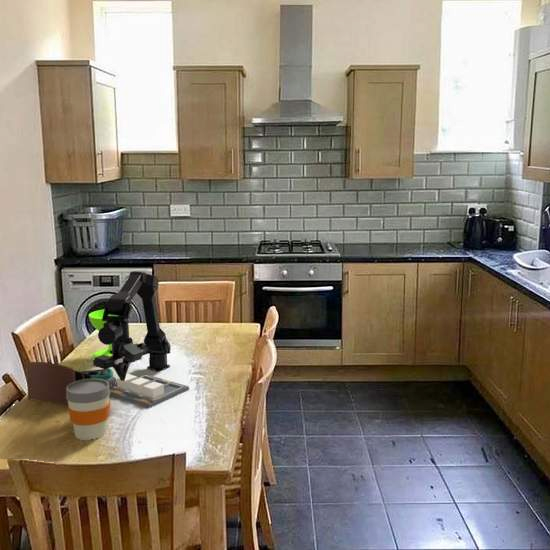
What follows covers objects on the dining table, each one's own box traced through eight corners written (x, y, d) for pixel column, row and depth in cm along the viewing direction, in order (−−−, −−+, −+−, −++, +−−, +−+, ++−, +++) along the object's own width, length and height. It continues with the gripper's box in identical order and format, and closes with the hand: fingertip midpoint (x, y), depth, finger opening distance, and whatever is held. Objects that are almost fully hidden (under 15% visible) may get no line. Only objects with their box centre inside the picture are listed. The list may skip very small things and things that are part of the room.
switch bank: (148, 378, 228) (148, 373, 227) (189, 389, 216) (188, 384, 216) (108, 394, 212) (108, 389, 212) (149, 407, 201) (149, 402, 201)
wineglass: (139, 355, 253) (137, 313, 249) (106, 365, 241) (104, 321, 237) (116, 347, 263) (114, 306, 260) (83, 356, 251) (80, 314, 248)
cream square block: (154, 392, 210) (154, 381, 210) (164, 395, 208) (163, 384, 207) (143, 397, 206) (143, 386, 206) (153, 400, 204) (152, 389, 203)
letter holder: (75, 408, 201) (72, 367, 199) (27, 399, 208) (24, 360, 205) (94, 397, 211) (92, 357, 208) (47, 389, 217) (44, 351, 215)
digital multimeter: (113, 381, 226) (112, 373, 225) (70, 385, 222) (70, 377, 221) (112, 374, 233) (112, 367, 232) (71, 378, 229) (71, 370, 228)
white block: (128, 384, 218) (127, 373, 217) (137, 387, 215) (137, 376, 214) (117, 388, 214) (117, 378, 213) (126, 391, 211) (126, 380, 210)
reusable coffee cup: (88, 446, 175) (85, 397, 172) (59, 436, 181) (56, 388, 178) (121, 430, 185) (118, 383, 182) (92, 420, 192) (89, 375, 189)
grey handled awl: (116, 384, 222) (109, 382, 223) (116, 377, 222) (109, 376, 222) (96, 398, 209) (89, 397, 209) (96, 391, 208) (89, 390, 209)
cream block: (141, 388, 214) (140, 377, 213) (150, 391, 212) (150, 380, 211) (130, 392, 210) (129, 381, 209) (139, 395, 208) (139, 384, 207)
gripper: (114, 347, 188) (117, 394, 191) (158, 332, 203) (160, 376, 206) (90, 340, 194) (93, 387, 198) (135, 327, 209) (137, 370, 213)
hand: (122, 380), depth 203 cm, fingers closed
